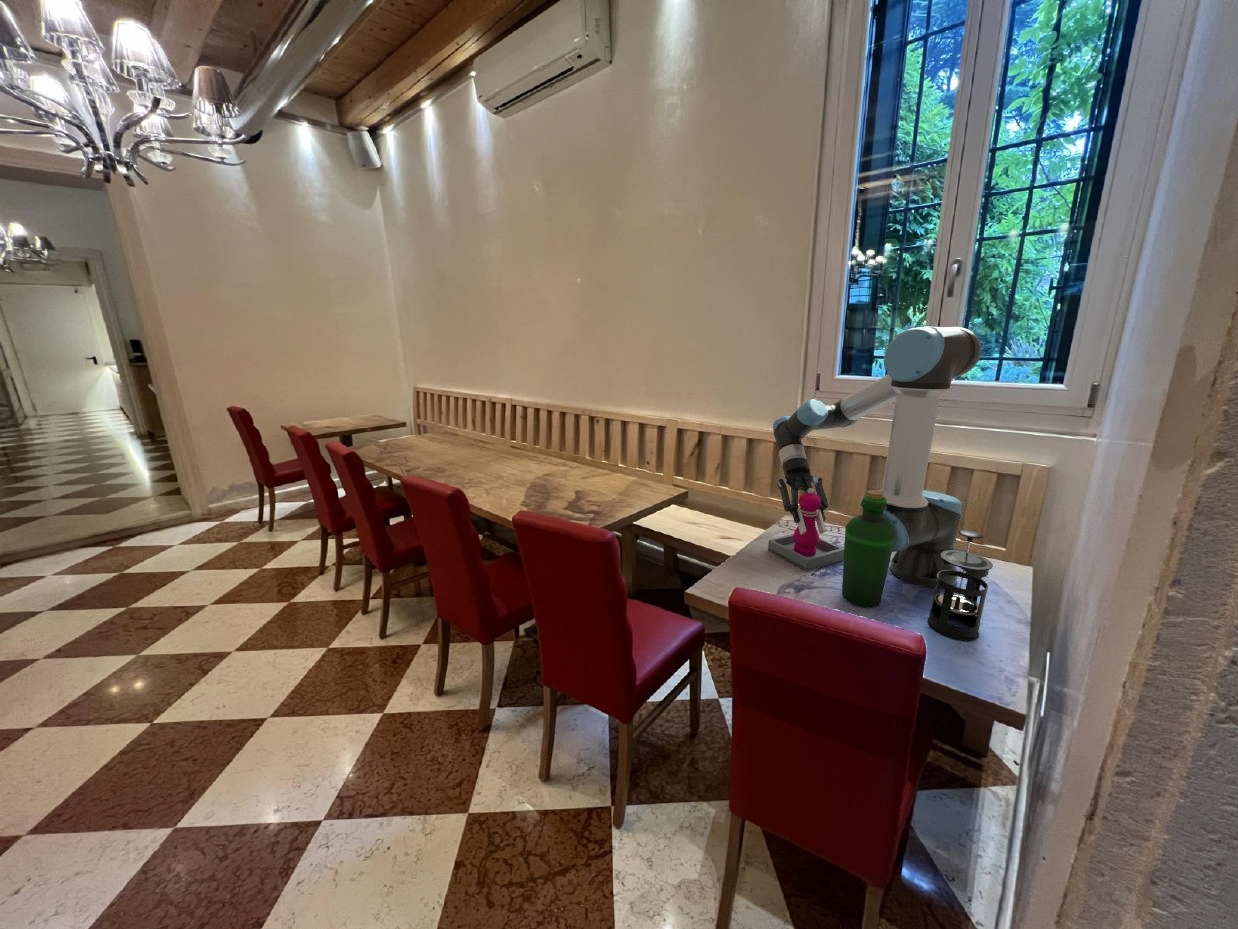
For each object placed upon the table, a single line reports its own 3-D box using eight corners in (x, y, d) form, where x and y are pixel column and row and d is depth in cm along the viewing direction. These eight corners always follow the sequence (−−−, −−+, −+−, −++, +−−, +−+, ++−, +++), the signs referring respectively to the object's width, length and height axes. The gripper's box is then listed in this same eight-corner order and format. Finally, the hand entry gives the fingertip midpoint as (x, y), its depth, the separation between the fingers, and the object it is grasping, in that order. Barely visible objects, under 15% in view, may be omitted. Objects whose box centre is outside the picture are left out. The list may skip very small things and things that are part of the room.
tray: (844, 560, 134) (845, 549, 133) (806, 571, 128) (807, 560, 127) (803, 541, 147) (804, 531, 146) (767, 550, 141) (768, 540, 140)
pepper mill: (820, 558, 134) (827, 492, 128) (793, 556, 135) (799, 491, 130) (815, 547, 140) (821, 485, 135) (790, 545, 142) (795, 483, 137)
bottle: (882, 593, 117) (898, 488, 109) (888, 615, 107) (906, 502, 100) (836, 585, 121) (848, 483, 113) (837, 606, 111) (851, 496, 104)
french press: (961, 647, 96) (982, 546, 90) (916, 624, 104) (932, 529, 98) (992, 631, 101) (1014, 534, 95) (946, 610, 109) (963, 519, 103)
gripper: (817, 467, 147) (838, 536, 135) (762, 468, 146) (778, 538, 135) (827, 455, 141) (849, 526, 129) (769, 456, 140) (786, 528, 128)
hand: (813, 532), depth 132 cm, fingers closed on pepper mill, 5 cm apart
